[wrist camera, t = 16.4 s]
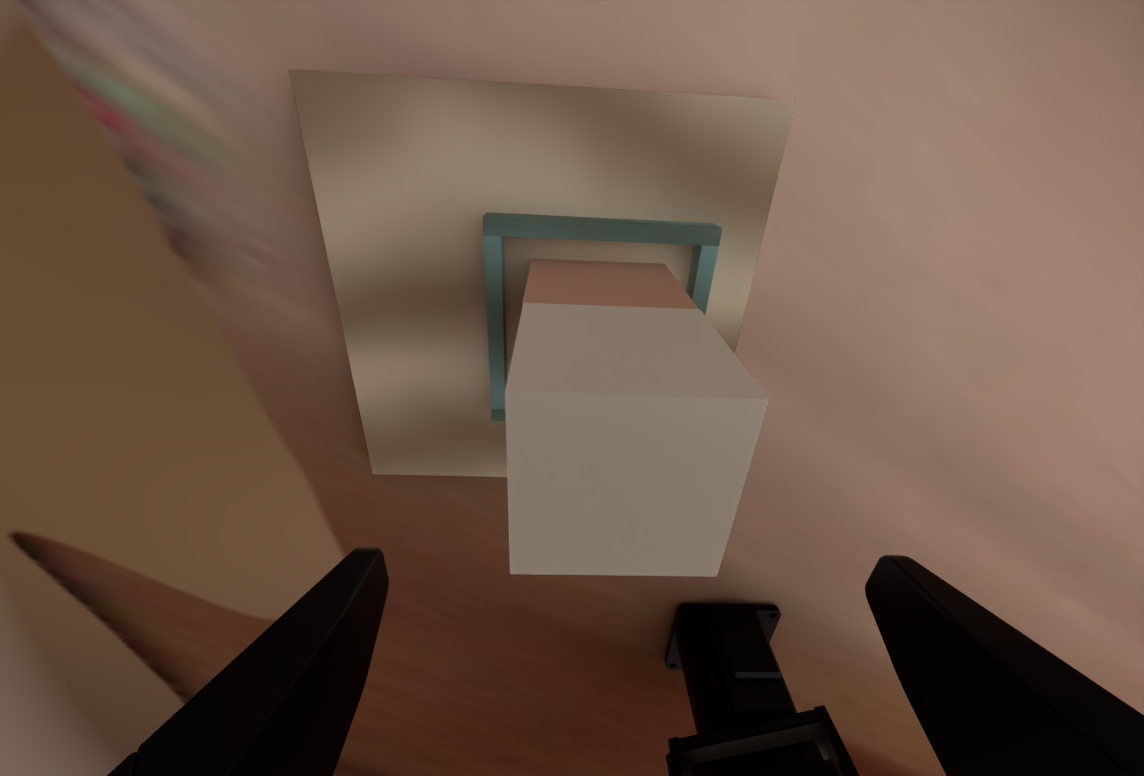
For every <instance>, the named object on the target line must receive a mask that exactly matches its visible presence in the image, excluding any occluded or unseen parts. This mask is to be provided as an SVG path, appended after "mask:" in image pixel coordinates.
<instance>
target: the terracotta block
mask: <svg viewBox="0 0 1144 776" xmlns="http://www.w3.org/2000/svg"><path fill="white" fill-rule="evenodd" d="M523 303H546V304H573V305H600V306H627V307H653V308H680V309H699V308H698V307H697V306H696V304H695V303H694V302H693V300H692V299H691V298H690V297H689V295H688V294H687V293H686V291H685V290H684V289H683V287H682V286H681V285H680V283H679V282H678V281H677V279H676V278H675V277H674V275H673V274H672V273H671V272H670V270H669V269H668V268H667V266H666V265H665V264H658V263H634V262H609V261H585V260H560V259H535V258H532V260H531V265H530V269H529V274H528V279H527V283H526V288H525V293H524V297H523V302H522V307H523Z"/></svg>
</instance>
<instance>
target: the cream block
mask: <svg viewBox="0 0 1144 776" xmlns="http://www.w3.org/2000/svg"><path fill="white" fill-rule="evenodd" d="M768 404H769V398H768V397H767V396H766V394H765V393H764V392H763V390H762V389H761V388H760V387H759V385H758V384H757V383H756V381H755V380H754V379H753V377H752V376H751V375H750V374H749V372H748V371H747V370H746V368H745V367H744V366H743V364H742V363H741V362H740V360H739V359H738V358H737V357H736V355H735V354H734V353H733V351H732V350H731V349H730V347H729V346H728V345H727V343H726V342H725V341H724V340H723V338H722V337H721V336H720V334H719V333H718V332H717V330H716V329H715V328H714V327H713V325H712V324H711V323H710V321H709V320H708V319H707V317H706V316H705V315H704V313H703V312H702V311H701V310H700V309H680V308H653V307H627V306H600V305H573V304H546V303H523V307H522V312H521V317H520V322H519V326H518V331H517V336H516V341H515V346H514V351H513V355H512V360H511V365H510V370H509V375H508V379H507V384H506V389H505V414H506V450H507V485H508V521H509V556H510V574H547V575H628V576H709V577H717V575H718V572H719V568H720V565H721V561H722V558H723V555H724V551H725V548H726V545H727V541H728V538H729V535H730V531H731V528H732V525H733V521H734V518H735V514H736V511H737V508H738V504H739V501H740V498H741V494H742V491H743V488H744V484H745V481H746V478H747V474H748V471H749V467H750V464H751V461H752V457H753V454H754V451H755V447H756V444H757V441H758V437H759V434H760V431H761V427H762V424H763V420H764V417H765V414H766V410H767V407H768Z"/></svg>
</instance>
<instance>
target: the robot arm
mask: <svg viewBox="0 0 1144 776" xmlns="http://www.w3.org/2000/svg"><path fill="white" fill-rule="evenodd" d="M388 586H389V579H388V574H387V569H386V565H385V560H384V556H383V552H382V550H381V549H380V548H369V547H360V548H356V549H355V550H353V551H352V552H351V553H350V554H348V555H347V556H346V557H345V558H344V559H343V560H342V561H341V562H340V563H339V564H338V565H336V566H335V567H334V568H333V569H332V570H331V571H330V572H329V573H328V574H327V575H326V576H325V577H323V578H322V579H321V580H320V581H319V582H318V583H317V584H316V585H315V586H314V587H312V588H311V589H310V590H309V591H308V592H307V593H306V594H305V595H304V596H303V597H302V598H301V599H299V600H298V601H297V602H296V603H295V604H294V605H293V606H292V607H291V608H290V609H288V611H286V612H285V613H284V614H283V615H282V616H281V617H280V618H279V619H278V620H276V621H275V622H274V623H273V624H272V625H271V626H270V627H269V628H268V629H267V630H266V631H264V632H263V633H262V634H261V635H260V636H259V637H258V638H257V639H256V640H255V641H254V642H253V643H251V644H250V645H249V646H248V647H247V648H246V649H245V650H244V651H243V652H242V653H241V654H239V655H238V656H237V657H236V658H235V659H234V660H233V661H232V662H231V663H230V664H229V665H227V666H226V667H225V668H224V669H223V670H222V671H221V672H220V673H219V674H218V675H217V676H215V677H214V678H213V679H212V680H211V681H210V682H209V683H208V684H207V685H206V686H205V687H203V688H202V689H201V690H200V691H199V692H198V693H197V694H196V695H195V696H194V697H193V698H191V699H190V700H189V701H188V702H187V703H186V704H185V705H184V706H183V707H182V708H181V709H179V710H178V711H177V712H176V713H175V714H174V715H173V716H172V717H171V718H170V719H169V720H167V721H166V722H165V723H164V724H163V725H162V726H161V727H160V728H159V729H158V730H157V731H155V732H154V733H153V734H152V735H151V736H150V737H149V738H148V739H147V740H146V741H145V742H143V743H142V744H141V745H140V746H139V748H138V751H137V752H134V753H131V754H130V755H129V756H128V757H127V758H126V759H125V760H124V761H122V762H121V763H120V764H119V765H118V766H117V767H116V768H115V769H114V770H113V771H112V772H111V773H110V774H108V775H107V776H333V774H334V771H335V769H336V766H337V763H338V760H339V757H340V754H341V752H342V749H343V746H344V743H345V740H346V737H347V735H348V732H349V729H350V726H351V723H352V720H353V718H354V715H355V712H356V709H357V706H358V703H359V701H360V698H361V695H362V692H363V688H364V685H365V682H366V678H367V674H368V671H369V667H370V663H371V659H372V654H373V650H374V646H375V642H376V638H377V634H378V630H379V626H380V622H381V618H382V613H383V609H384V605H385V601H386V597H387V593H388ZM865 593H866V597H867V600H868V603H869V606H870V608H871V611H872V613H873V616H874V618H875V621H876V623H877V626H878V628H879V631H880V633H881V636H882V638H883V641H884V643H885V646H886V648H887V651H888V653H889V656H890V658H891V661H892V664H893V666H894V669H895V671H896V673H897V676H898V678H899V680H900V683H901V685H902V687H903V689H904V691H905V693H906V696H907V698H908V700H909V702H910V704H911V706H912V708H913V710H914V712H915V714H916V716H917V718H918V720H919V722H920V724H921V726H922V728H923V730H924V732H925V734H926V736H927V738H928V740H929V742H930V744H931V746H932V748H933V750H934V752H935V754H936V756H937V758H938V760H939V762H940V763H941V765H942V767H943V769H944V771H945V773H946V775H947V776H1144V715H1143V714H1141V713H1140V712H1138V711H1137V710H1135V709H1134V708H1132V707H1131V706H1129V705H1128V704H1126V703H1125V702H1123V701H1122V700H1120V699H1119V698H1117V697H1116V696H1114V695H1113V694H1111V693H1110V692H1108V691H1107V690H1106V689H1104V688H1103V687H1101V686H1100V685H1098V684H1097V683H1095V682H1094V681H1092V680H1091V679H1089V678H1088V677H1086V676H1085V675H1083V674H1082V673H1080V672H1079V671H1077V670H1076V669H1074V668H1073V667H1071V666H1070V665H1068V664H1067V663H1066V662H1064V661H1063V660H1061V659H1060V658H1058V657H1057V656H1055V655H1054V654H1052V653H1051V652H1049V651H1048V650H1046V649H1045V648H1043V647H1042V646H1040V645H1039V644H1037V643H1036V642H1034V641H1033V640H1031V639H1030V638H1028V637H1027V636H1025V635H1024V634H1023V633H1021V632H1020V631H1018V630H1017V629H1015V628H1014V627H1012V626H1011V625H1009V624H1008V623H1006V622H1005V621H1003V620H1002V619H1000V618H999V617H997V616H996V615H994V614H993V613H991V612H990V611H988V610H987V609H985V608H984V607H983V606H981V605H980V604H978V603H977V602H975V601H974V600H972V599H971V598H969V597H968V596H966V595H965V594H963V593H962V592H960V591H959V590H957V589H956V588H954V587H953V586H951V585H950V584H948V583H947V582H945V581H944V580H942V579H941V578H940V577H938V576H937V575H935V574H934V573H932V572H931V571H929V570H928V569H926V568H925V567H923V566H922V565H920V564H919V563H917V562H916V561H914V560H913V559H911V558H909V557H907V556H897V555H886V556H883V557H881V558H880V559H879V560H878V562H877V564H876V566H875V568H874V570H873V571H872V573H871V575H870V577H869V579H868V581H867V583H866V586H865ZM780 616H781V613H780V610H779V608H778V607H777V606H776V605H744V604H683V605H680V606H679V607H678V608H677V612H676V616H675V620H674V624H673V628H672V632H671V636H670V640H669V644H668V648H667V652H666V656H665V666H666V668H667V669H669V670H683V674H684V678H685V683H686V687H687V692H688V696H689V700H690V705H691V709H692V714H693V718H694V723H695V727H696V731H697V735H693V736H688V737H684V738H678V737H674V738H670V739H669V749H670V753H668V754H667V755H666V760H667V766H668V772H669V776H859V774H858V772H857V770H856V768H855V766H854V764H853V762H852V760H851V758H850V756H849V754H848V752H847V750H846V748H845V746H844V744H843V742H842V740H841V738H840V736H839V734H838V732H837V730H836V728H835V726H834V724H833V722H832V720H831V718H830V716H829V714H828V712H827V710H826V708H825V706H824V705H822V706H818V707H814V710H809V711H805V712H800V713H797V711H796V708H795V706H794V703H793V701H792V698H791V696H790V693H789V691H788V688H787V686H786V683H785V681H784V678H783V676H782V674H781V671H780V668H779V666H778V663H777V661H776V658H775V656H774V653H773V651H772V649H771V646H770V644H769V642H770V640H771V637H772V635H773V633H774V630H775V628H776V626H777V623H778V621H779V619H780Z"/></svg>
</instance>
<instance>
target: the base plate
mask: <svg viewBox="0 0 1144 776" xmlns="http://www.w3.org/2000/svg"><path fill="white" fill-rule="evenodd" d="M289 73H290V78H291V83H292V88H293V93H294V97H295V102H296V107H297V112H298V117H299V121H300V126H301V131H302V136H303V141H304V146H305V150H306V155H307V160H308V165H309V170H310V174H311V179H312V184H313V189H314V194H315V199H316V203H317V208H318V213H319V218H320V223H321V227H322V232H323V237H324V242H325V247H326V251H327V256H328V261H329V266H330V271H331V276H332V280H333V285H334V290H335V295H336V300H337V304H338V309H339V314H340V319H341V324H342V328H343V333H344V338H345V343H346V348H347V353H348V357H349V362H350V367H351V372H352V377H353V381H354V386H355V391H356V396H357V401H358V405H359V410H360V415H361V420H362V425H363V430H364V434H365V439H366V444H367V449H368V454H369V458H370V463H371V468H372V473H373V474H392V475H436V476H479V477H507V450H506V414H505V389H506V384H507V379H508V375H509V370H510V365H511V360H512V355H513V351H514V346H515V341H516V336H517V331H518V326H519V322H520V317H521V312H522V302H523V297H524V293H525V288H526V283H527V279H528V274H529V269H530V265H531V260H532V258H535V259H560V260H585V261H609V262H634V263H658V264H665V265H666V266H667V268H668V269H669V270H670V272H671V273H672V274H673V275H674V277H675V278H676V279H677V281H678V282H679V283H680V285H681V286H682V287H683V289H684V290H685V291H686V293H687V294H688V295H689V297H690V298H691V299H692V300H693V302H694V303H695V304H696V306H697V307H698V308H699V309H700V310H701V311H702V312H703V313H704V315H705V316H706V317H707V319H708V320H709V321H710V323H711V324H712V325H713V327H714V328H715V329H716V330H717V332H718V333H719V334H720V336H721V337H722V338H723V340H724V341H725V342H726V343H727V345H728V346H729V347H730V349H731V350H732V351H733V353H735V349H736V345H737V341H738V337H739V333H740V329H741V324H742V320H743V316H744V312H745V308H746V304H747V300H748V296H749V292H750V287H751V283H752V279H753V275H754V271H755V267H756V263H757V259H758V255H759V250H760V246H761V242H762V238H763V234H764V230H765V226H766V222H767V218H768V213H769V209H770V205H771V201H772V197H773V193H774V189H775V185H776V181H777V176H778V172H779V168H780V164H781V160H782V156H783V152H784V148H785V144H786V139H787V135H788V131H789V127H790V123H791V119H792V115H793V111H794V106H795V102H796V100H789V99H773V98H756V97H739V96H723V95H706V94H689V93H672V92H656V91H639V90H622V89H606V88H589V87H572V86H555V85H539V84H522V83H505V82H489V81H472V80H455V79H438V78H422V77H405V76H388V75H372V74H355V73H338V72H321V71H305V70H289Z"/></svg>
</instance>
